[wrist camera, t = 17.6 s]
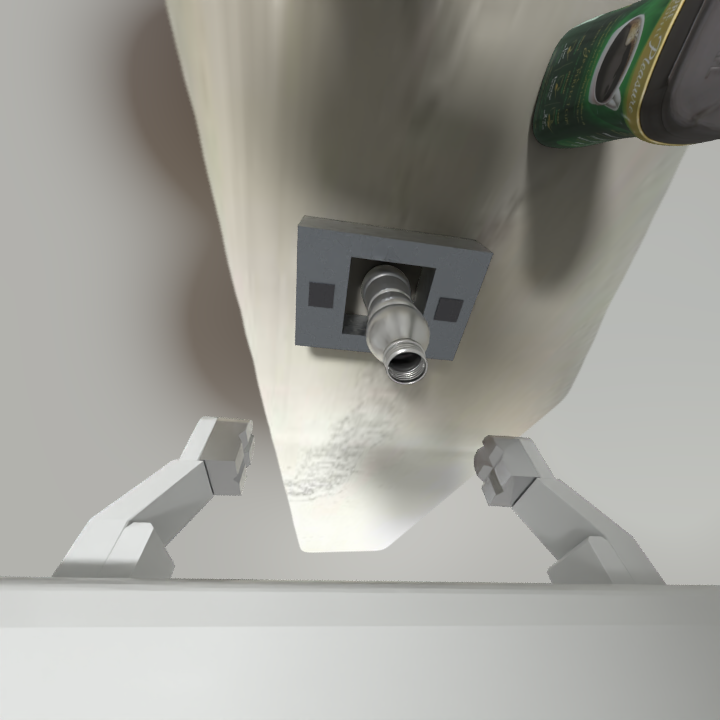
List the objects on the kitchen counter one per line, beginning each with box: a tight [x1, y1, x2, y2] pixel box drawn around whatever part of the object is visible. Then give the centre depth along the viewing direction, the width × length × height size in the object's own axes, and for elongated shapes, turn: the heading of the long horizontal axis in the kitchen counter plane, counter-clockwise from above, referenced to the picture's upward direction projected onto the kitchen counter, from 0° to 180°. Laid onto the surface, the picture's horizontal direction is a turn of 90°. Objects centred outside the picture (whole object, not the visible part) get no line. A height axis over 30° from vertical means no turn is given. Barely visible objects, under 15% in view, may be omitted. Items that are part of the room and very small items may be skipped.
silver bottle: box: [361, 265, 430, 384], centre depth 34 cm, size 6×7×20 cm
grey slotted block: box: [295, 216, 493, 361], centre depth 40 cm, size 15×22×6 cm
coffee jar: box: [533, 0, 720, 148], centre depth 24 cm, size 10×8×19 cm
